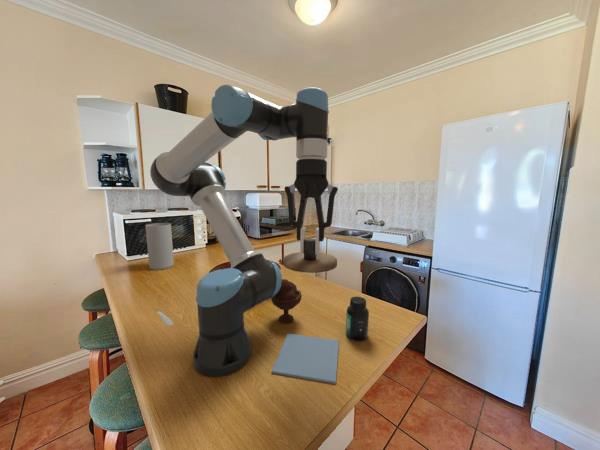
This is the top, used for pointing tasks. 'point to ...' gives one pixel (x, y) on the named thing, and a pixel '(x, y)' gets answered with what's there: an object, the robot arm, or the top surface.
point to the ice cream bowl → (286, 300)
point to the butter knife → (165, 319)
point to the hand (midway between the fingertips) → (310, 252)
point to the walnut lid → (310, 260)
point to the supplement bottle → (357, 319)
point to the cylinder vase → (159, 246)
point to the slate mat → (308, 358)
